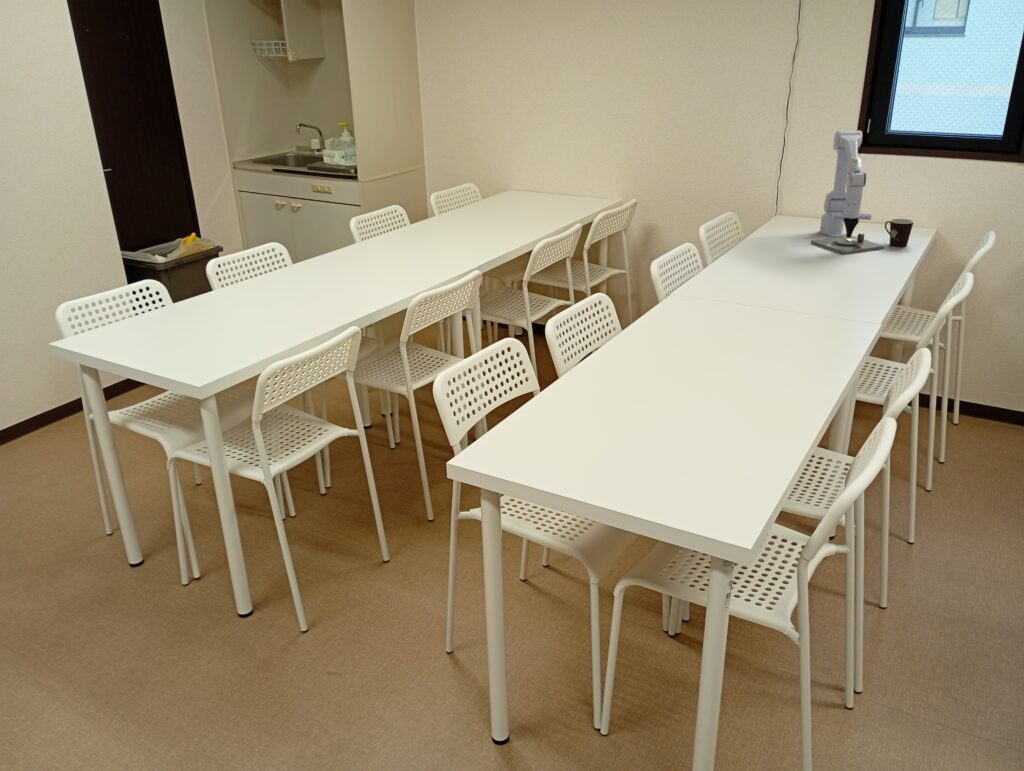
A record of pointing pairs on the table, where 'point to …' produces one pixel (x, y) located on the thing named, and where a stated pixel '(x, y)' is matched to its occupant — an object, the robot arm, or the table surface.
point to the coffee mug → (899, 232)
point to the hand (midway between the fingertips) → (848, 237)
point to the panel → (844, 250)
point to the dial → (850, 240)
